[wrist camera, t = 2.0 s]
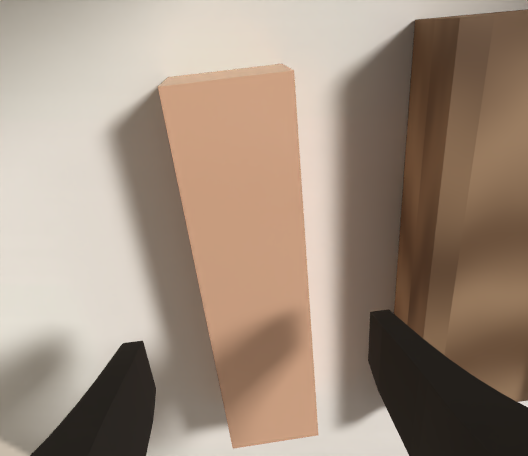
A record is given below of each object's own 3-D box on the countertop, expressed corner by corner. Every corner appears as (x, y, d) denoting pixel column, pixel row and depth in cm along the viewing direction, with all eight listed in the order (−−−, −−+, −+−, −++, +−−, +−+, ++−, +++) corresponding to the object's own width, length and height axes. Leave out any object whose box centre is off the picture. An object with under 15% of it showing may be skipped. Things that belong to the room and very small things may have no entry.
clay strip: (306, 385, 22) (318, 435, 19) (231, 396, 22) (232, 448, 19) (280, 62, 15) (293, 70, 12) (169, 76, 15) (157, 86, 12)
